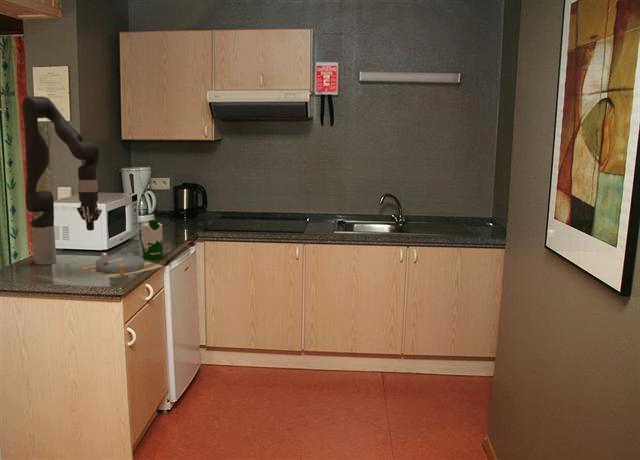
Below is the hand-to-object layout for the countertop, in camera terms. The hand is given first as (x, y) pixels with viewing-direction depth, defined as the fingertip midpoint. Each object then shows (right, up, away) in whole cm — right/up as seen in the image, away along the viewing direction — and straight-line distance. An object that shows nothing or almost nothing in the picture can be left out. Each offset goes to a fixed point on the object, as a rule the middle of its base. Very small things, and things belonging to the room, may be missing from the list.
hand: (90, 230), depth 234 cm
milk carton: (+19, -15, +27) cm, 36 cm away
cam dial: (+10, -16, +7) cm, 21 cm away
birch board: (+11, -18, +9) cm, 23 cm away
